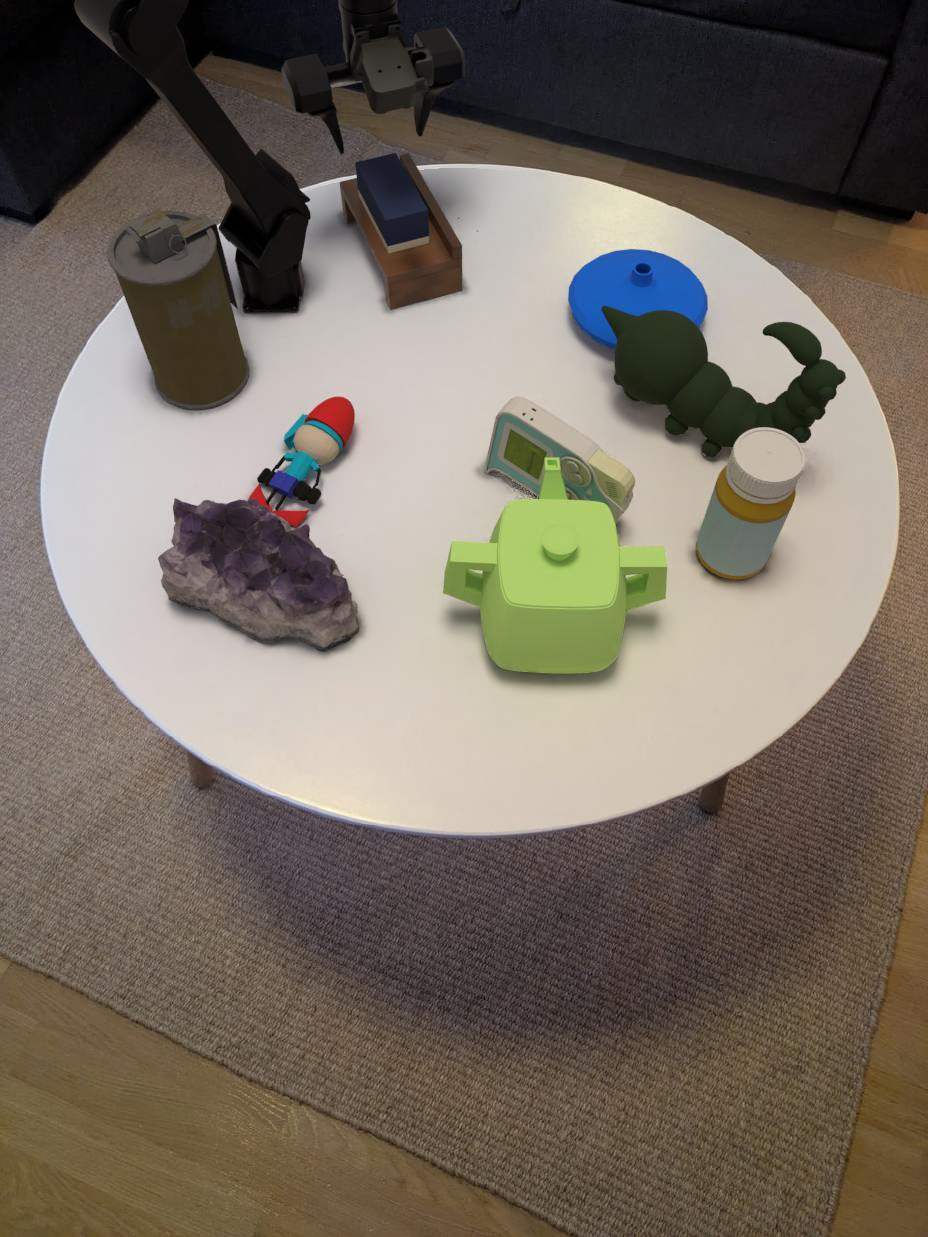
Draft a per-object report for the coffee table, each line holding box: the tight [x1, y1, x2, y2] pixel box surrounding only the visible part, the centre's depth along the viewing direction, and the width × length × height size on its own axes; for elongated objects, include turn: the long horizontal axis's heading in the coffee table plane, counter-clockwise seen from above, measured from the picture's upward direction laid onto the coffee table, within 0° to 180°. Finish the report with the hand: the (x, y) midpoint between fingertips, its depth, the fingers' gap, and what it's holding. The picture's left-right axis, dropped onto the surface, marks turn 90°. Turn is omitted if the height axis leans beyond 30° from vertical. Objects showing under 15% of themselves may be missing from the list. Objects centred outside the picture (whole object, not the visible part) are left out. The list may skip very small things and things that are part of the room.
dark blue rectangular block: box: [354, 152, 429, 254], centre depth 115 cm, size 11×5×4 cm, turn 21°
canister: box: [106, 208, 250, 410], centre depth 103 cm, size 11×10×20 cm
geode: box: [157, 497, 360, 651], centre depth 93 cm, size 20×12×10 cm, turn 65°
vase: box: [567, 248, 709, 350], centre depth 113 cm, size 16×16×7 cm
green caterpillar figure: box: [602, 306, 847, 458], centre depth 100 cm, size 9×19×25 cm
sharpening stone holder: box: [339, 152, 463, 311], centre depth 119 cm, size 9×18×6 cm, turn 21°
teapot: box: [442, 457, 668, 674], centre depth 91 cm, size 18×20×13 cm
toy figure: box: [248, 396, 356, 528], centre depth 103 cm, size 8×5×15 cm
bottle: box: [695, 427, 806, 580], centre depth 92 cm, size 7×7×15 cm
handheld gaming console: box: [483, 396, 636, 525], centre depth 98 cm, size 11×3×15 cm
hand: (380, 142), depth 113 cm, fingers open, 9 cm apart
